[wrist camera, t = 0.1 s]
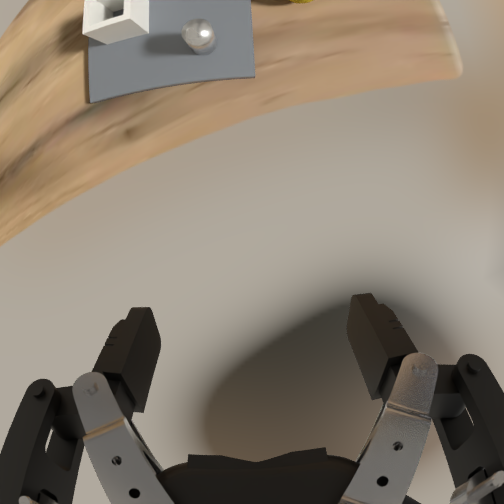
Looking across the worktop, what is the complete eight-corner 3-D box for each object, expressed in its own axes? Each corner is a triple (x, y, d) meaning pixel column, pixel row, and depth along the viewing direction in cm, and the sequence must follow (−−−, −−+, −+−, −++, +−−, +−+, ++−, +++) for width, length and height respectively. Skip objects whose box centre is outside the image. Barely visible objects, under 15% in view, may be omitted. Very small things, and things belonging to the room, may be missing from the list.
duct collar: (108, 9, 24) (85, -6, 18) (149, -3, 24) (132, -22, 18) (107, 44, 27) (82, 34, 20) (148, 33, 27) (130, 18, 20)
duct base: (94, 13, 25) (90, 10, 24) (248, -17, 25) (249, -22, 24) (95, 103, 32) (90, 102, 30) (254, 78, 32) (255, 76, 30)
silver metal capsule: (190, 34, 27) (181, 20, 22) (216, 31, 27) (211, 16, 22) (191, 56, 29) (181, 46, 23) (217, 53, 29) (212, 42, 23)
